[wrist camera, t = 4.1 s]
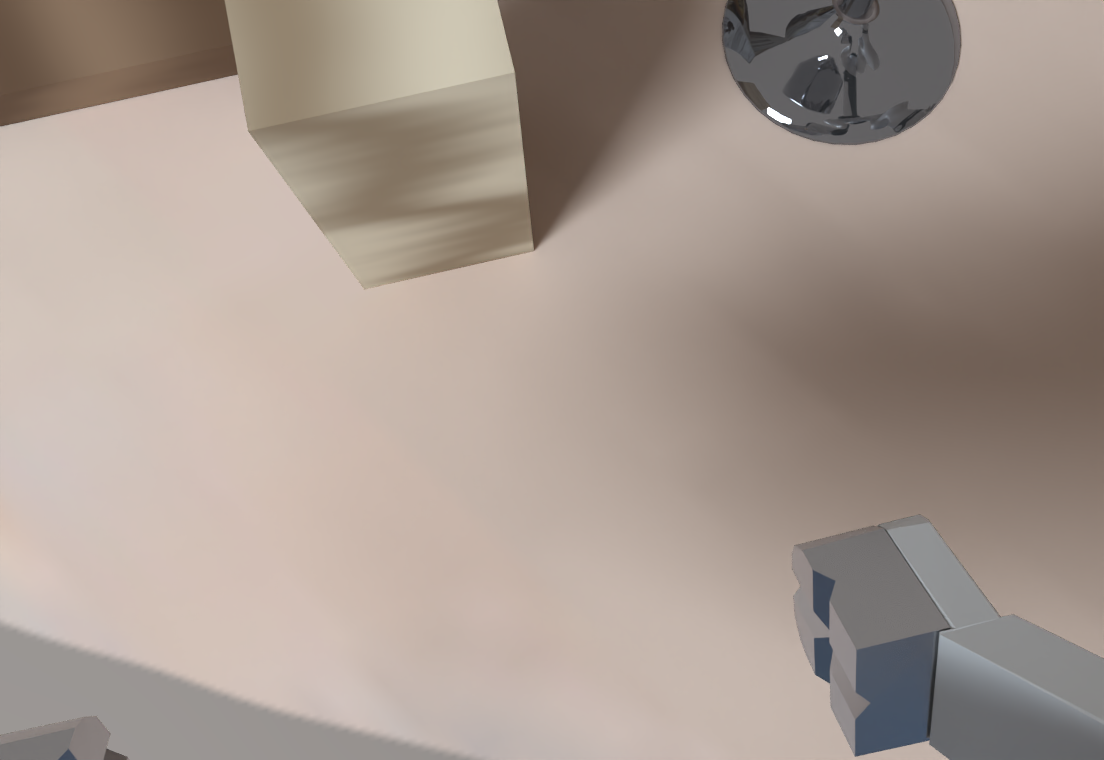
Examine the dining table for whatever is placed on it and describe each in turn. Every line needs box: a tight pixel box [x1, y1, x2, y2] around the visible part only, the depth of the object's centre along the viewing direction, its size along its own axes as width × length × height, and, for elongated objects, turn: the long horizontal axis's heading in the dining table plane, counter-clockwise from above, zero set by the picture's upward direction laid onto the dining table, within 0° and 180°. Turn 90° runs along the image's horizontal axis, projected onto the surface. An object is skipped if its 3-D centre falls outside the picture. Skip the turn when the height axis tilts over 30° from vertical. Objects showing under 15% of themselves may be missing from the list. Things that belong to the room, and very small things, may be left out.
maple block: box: [225, 0, 534, 289], centre depth 23 cm, size 5×5×10 cm
